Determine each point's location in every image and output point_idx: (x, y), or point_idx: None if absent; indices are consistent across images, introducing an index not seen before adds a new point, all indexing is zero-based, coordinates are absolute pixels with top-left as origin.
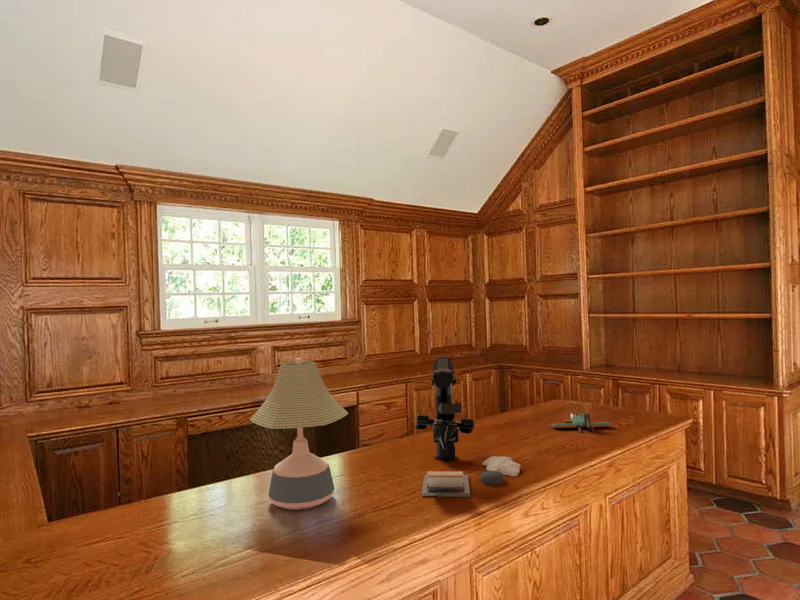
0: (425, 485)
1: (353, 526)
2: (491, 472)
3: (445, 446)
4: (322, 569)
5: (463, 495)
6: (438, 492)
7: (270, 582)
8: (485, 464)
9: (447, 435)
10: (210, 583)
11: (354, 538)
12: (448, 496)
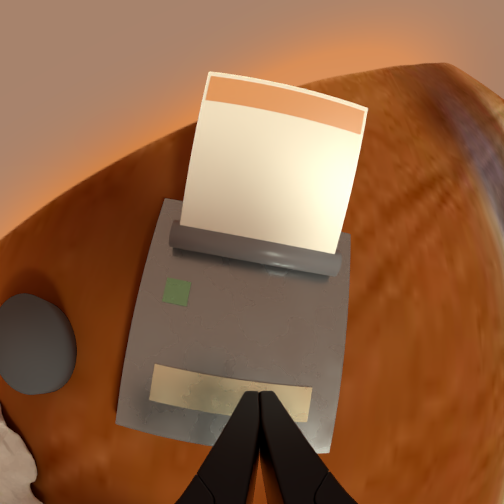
0: (336, 314)
1: (446, 131)
2: (18, 370)
3: (256, 399)
4: (425, 63)
5: None
6: None
7: (452, 70)
8: (36, 500)
9: (225, 502)
10: (488, 92)
11: (427, 98)
12: None
